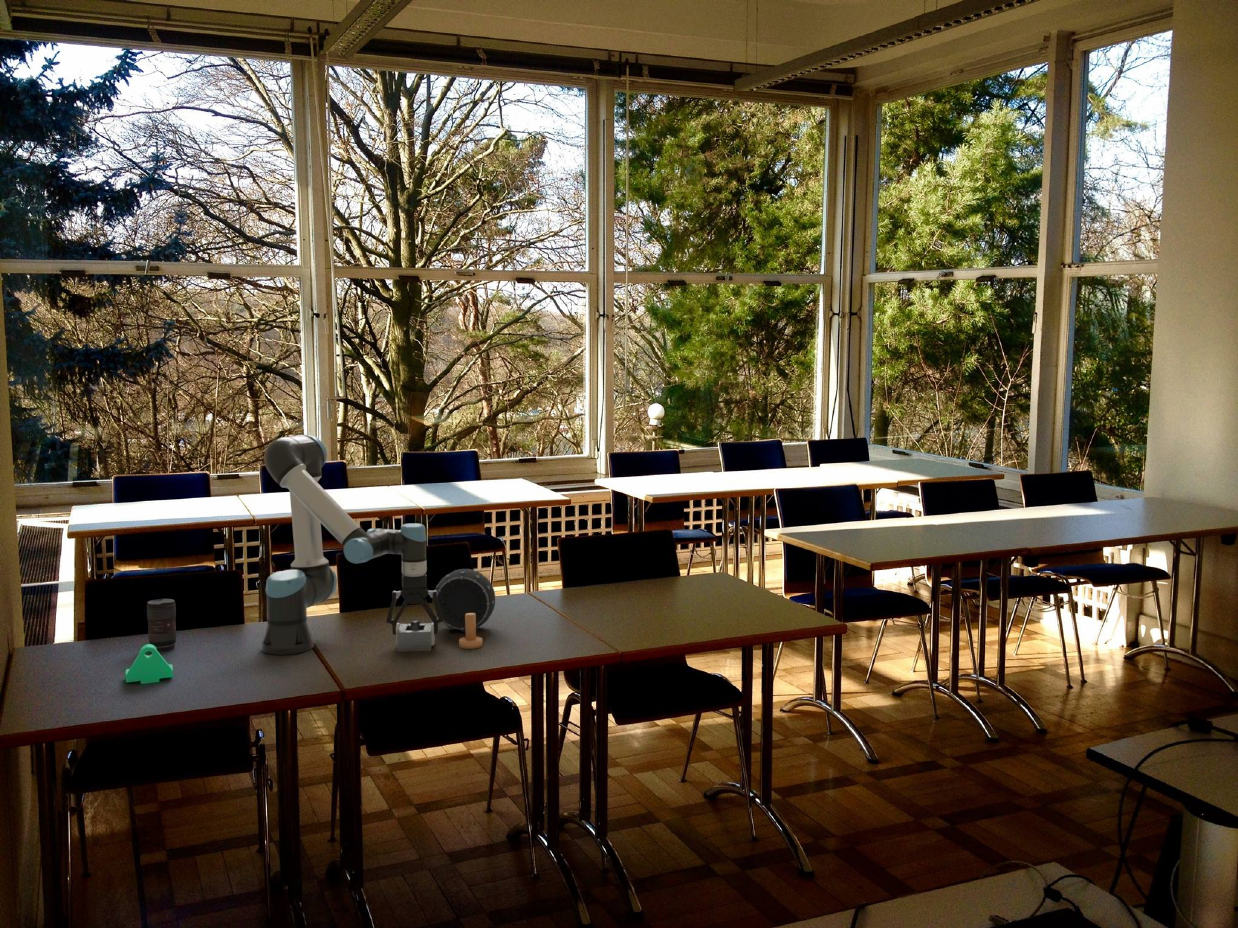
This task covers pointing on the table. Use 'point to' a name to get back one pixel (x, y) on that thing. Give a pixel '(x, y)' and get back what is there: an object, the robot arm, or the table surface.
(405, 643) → the open grey box
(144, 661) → the camera mount
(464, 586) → the dark grey round disc
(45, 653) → the table surface
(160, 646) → the dark grey cylinder
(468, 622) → the hub
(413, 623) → the stand rod
